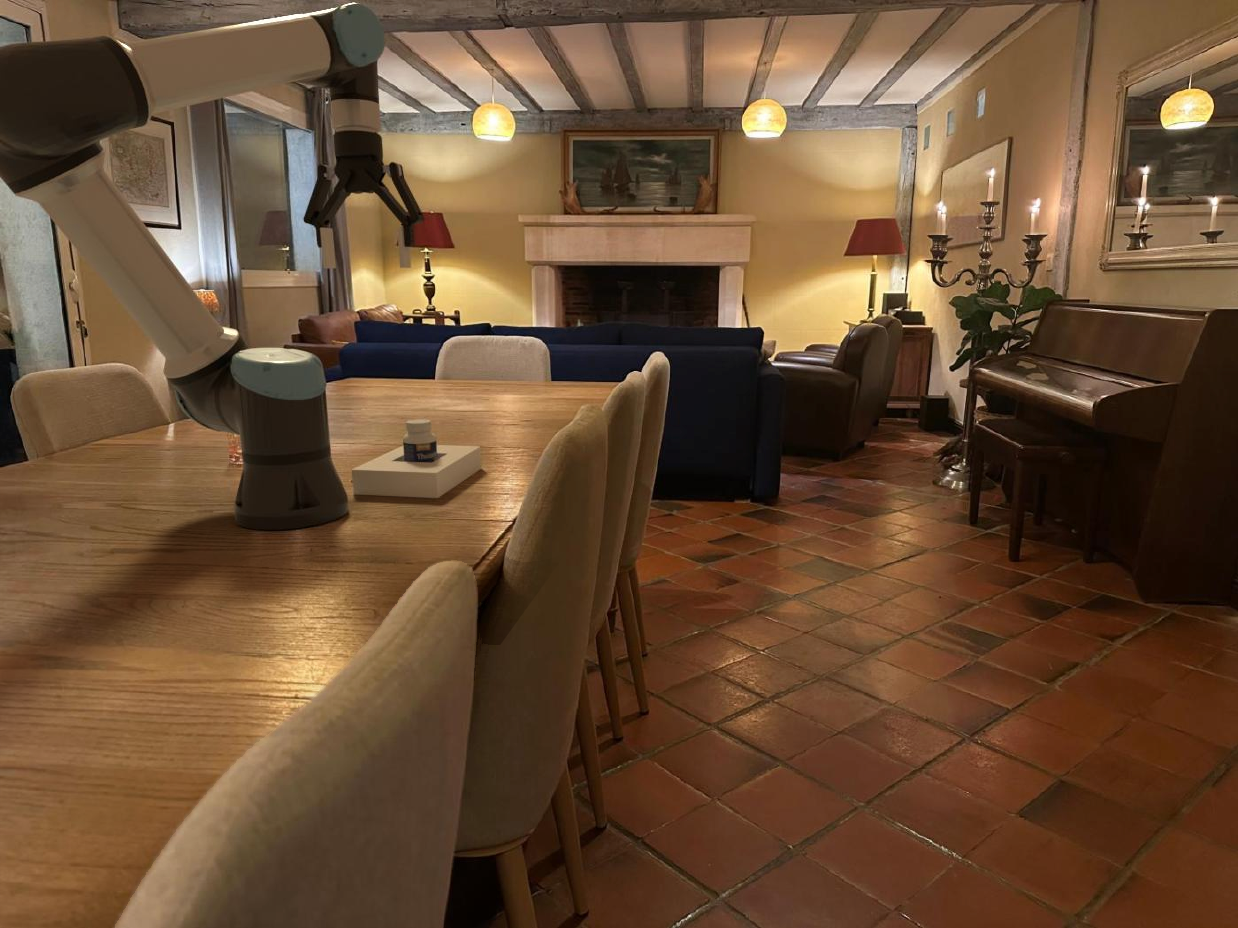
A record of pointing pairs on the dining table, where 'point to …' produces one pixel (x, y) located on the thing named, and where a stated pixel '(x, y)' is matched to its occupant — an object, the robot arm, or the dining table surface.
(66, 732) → the dining table surface
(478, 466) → the socket block
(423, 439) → the pill bottle
